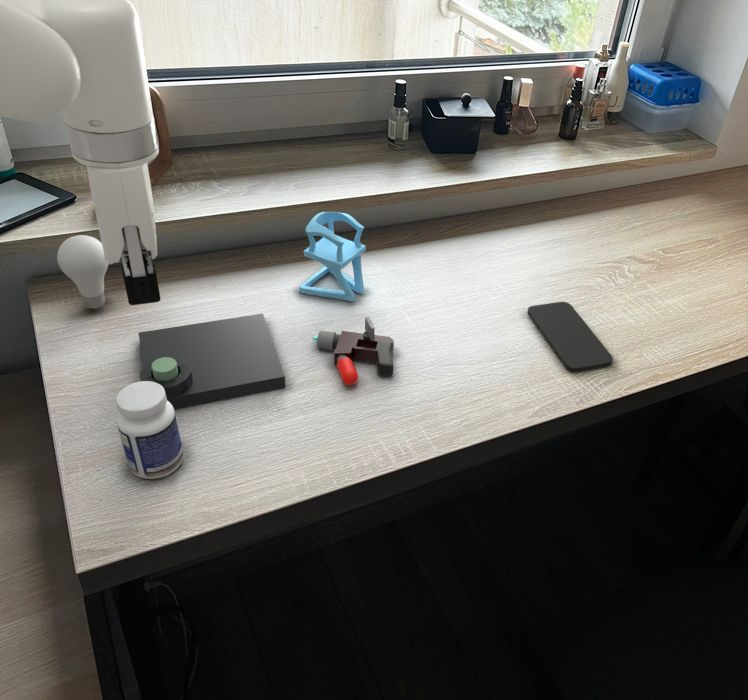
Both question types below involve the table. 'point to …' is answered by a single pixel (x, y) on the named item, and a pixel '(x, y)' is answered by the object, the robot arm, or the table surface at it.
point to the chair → (334, 256)
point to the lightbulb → (85, 267)
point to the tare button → (164, 369)
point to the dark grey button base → (214, 360)
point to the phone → (569, 336)
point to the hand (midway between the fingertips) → (144, 299)
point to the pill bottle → (148, 430)
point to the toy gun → (358, 351)
